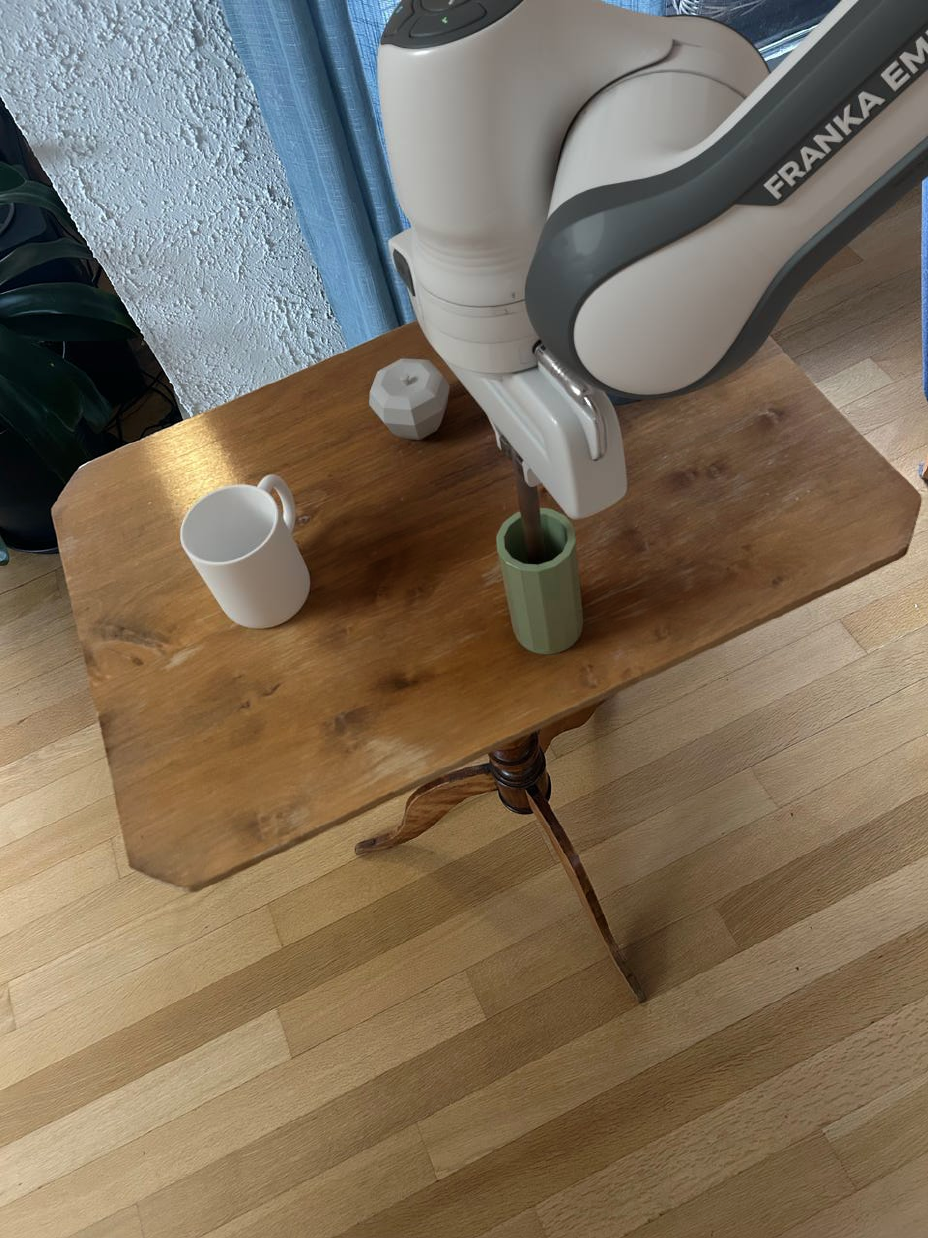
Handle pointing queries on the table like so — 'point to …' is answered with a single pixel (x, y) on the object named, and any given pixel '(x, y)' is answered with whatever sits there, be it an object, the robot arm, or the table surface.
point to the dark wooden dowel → (529, 516)
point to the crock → (542, 584)
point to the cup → (248, 552)
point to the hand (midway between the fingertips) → (524, 463)
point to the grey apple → (410, 398)
